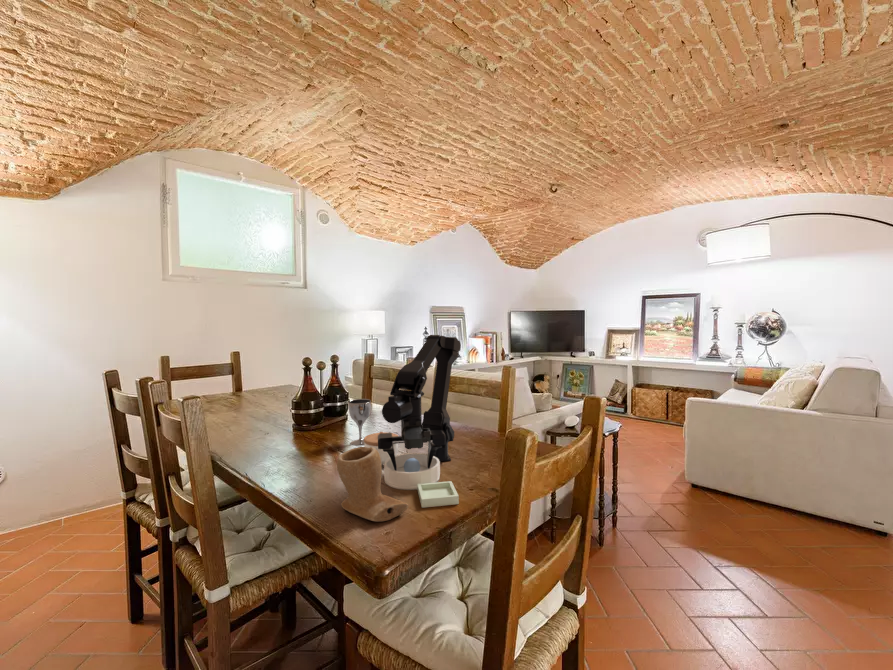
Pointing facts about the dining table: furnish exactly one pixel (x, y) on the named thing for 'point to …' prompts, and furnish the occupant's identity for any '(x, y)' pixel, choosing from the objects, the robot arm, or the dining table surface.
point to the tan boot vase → (366, 485)
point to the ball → (412, 465)
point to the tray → (437, 494)
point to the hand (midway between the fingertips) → (412, 469)
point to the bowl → (411, 479)
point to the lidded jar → (373, 442)
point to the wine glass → (359, 415)
